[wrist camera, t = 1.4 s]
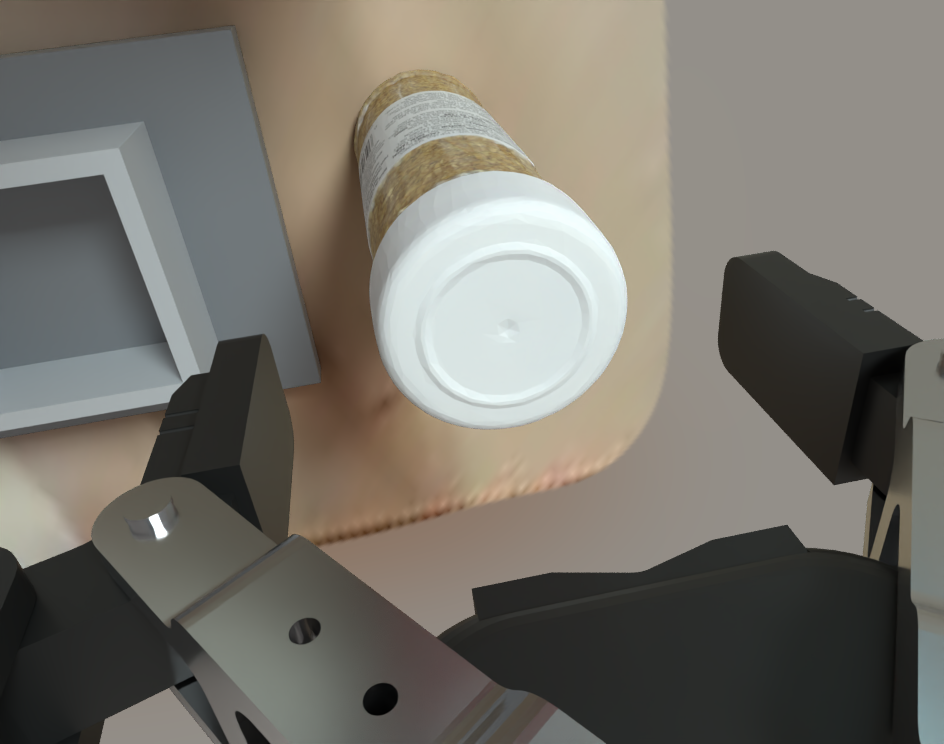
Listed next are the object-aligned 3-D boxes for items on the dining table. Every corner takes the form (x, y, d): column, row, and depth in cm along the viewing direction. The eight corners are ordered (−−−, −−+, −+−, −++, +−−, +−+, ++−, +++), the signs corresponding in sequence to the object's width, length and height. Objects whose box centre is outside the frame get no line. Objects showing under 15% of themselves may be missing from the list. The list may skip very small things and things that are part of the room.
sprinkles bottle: (462, 221, 25) (572, 457, 14) (335, 184, 24) (344, 415, 13) (509, 91, 23) (680, 246, 12) (373, 42, 22) (422, 166, 11)
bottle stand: (-281, 90, 20) (-406, 124, 16) (234, 25, 21) (217, 43, 18) (-62, 434, 26) (-119, 509, 23) (321, 368, 27) (320, 430, 24)
